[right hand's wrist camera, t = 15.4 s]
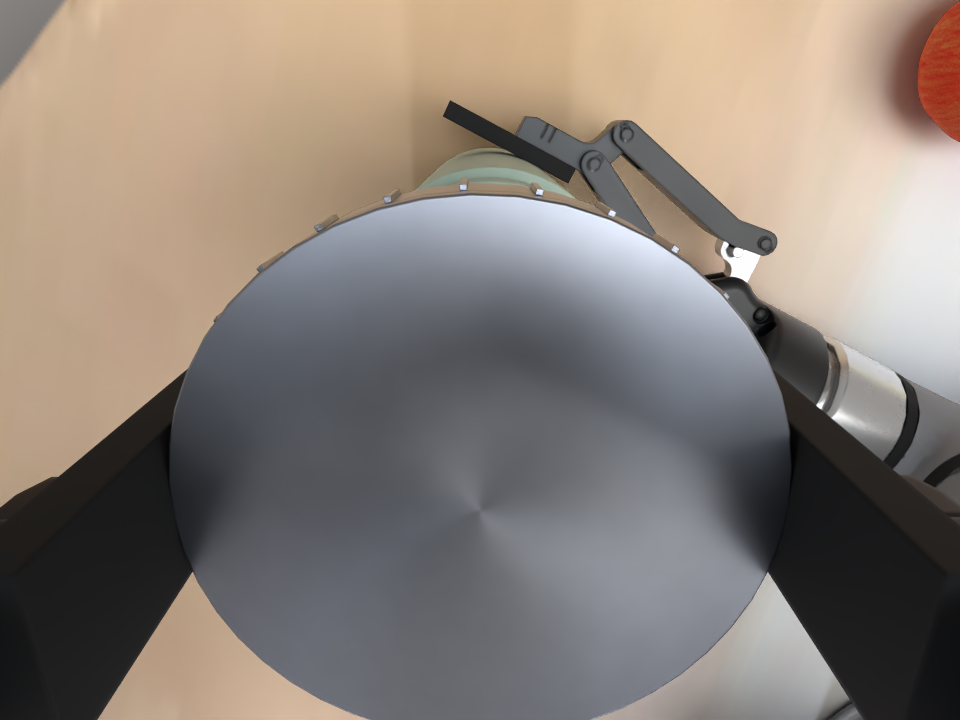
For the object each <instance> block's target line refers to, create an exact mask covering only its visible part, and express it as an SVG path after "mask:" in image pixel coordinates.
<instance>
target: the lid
mask: <svg viewBox="0 0 960 720" xmlns="http://www.w3.org/2000/svg"><path fill="white" fill-rule="evenodd" d="M615 215H616V211H614V210H613V209H611V208H610V207H608V206H606V205H605V204H603V203H601V202H599V201H597V202H596V204H595V206H594V205H592V204H589V203H586V202H583V201H580V200H577V199H574V198H571V197H568V196H565V195H562V194H558V193H555V192H551V191H545V190H544V189H543V188H542V187H541V186H540V185H539V184H538V183H534V182H531V184H530V188H529V187H523V186H517V185H507V184H482V183H468V178H462V179H461V181H460V184H457V185H446V186H436V187H429V188H424V189H420V190H416V191H412V192H407V193H403V194H401V193H400V190H399V189H396V190H393V191H392V192H390V193H389V194H388V195H386V196H385V197H384V198H383V200H380V201H378V202H375V203H372V204H370V205H367V206H365V207H362V208H359V209H357V210H354V211H352V212H350V213H349V214H347V215H345V216H343V217H341V218H338V216H337V215H336V214H334V215H333V216H331V217H329V218H328V219H326V220H324V221H323V222H321V223H319V224H318V225H316V226H315V227H314V228H315V229H316V232H315V233H313V234H312V235H310V236H309V237H307V238H306V239H304V240H303V241H301V242H300V243H298V244H297V245H295V246H293V247H292V248H291V249H289V250H288V251H287V252H285V253H284V252H281V253H279V254H277V255H276V256H274V257H273V258H271V259H270V260H268V261H266V262H265V263H263V264H262V265H260V266H259V267H258V268H257V270H258V271H259V273H258V274H257V275H256V276H255V277H254V278H253V279H252V280H251V281H250V282H249V283H248V284H247V285H246V286H245V287H244V288H243V289H242V290H241V291H240V292H239V293H238V294H237V295H236V296H235V297H234V298H233V299H232V300H231V301H230V303H229V304H228V305H227V306H226V308H225V309H224V310H223V312H222V313H220V314H219V315H218V316H216V318H215V319H214V322H215V323H214V324H213V326H212V327H211V328H210V330H209V331H208V333H207V334H206V335H205V337H204V339H203V341H202V343H201V345H200V346H199V348H198V350H197V352H196V354H195V356H194V358H193V360H192V362H191V364H190V366H189V368H188V370H187V372H186V375H185V378H184V381H183V384H182V387H181V390H180V393H179V396H178V399H177V403H176V406H175V409H174V415H173V421H172V427H171V434H170V440H169V456H168V483H169V489H170V495H171V501H172V506H173V512H174V517H175V522H176V527H177V531H178V534H179V538H180V541H181V544H182V548H183V551H184V553H185V555H186V558H187V560H188V562H189V564H190V566H191V568H192V571H193V573H194V575H195V577H196V579H197V582H198V583H199V585H200V586H201V588H202V590H203V591H204V593H205V594H206V596H207V598H208V599H209V601H210V602H211V604H212V605H213V607H214V609H215V610H216V612H217V613H218V614H219V615H220V617H221V618H222V619H223V620H224V621H225V623H226V624H227V625H228V626H229V627H230V629H231V630H232V631H233V632H234V633H235V635H236V636H237V637H238V638H239V639H240V640H241V641H242V642H243V643H244V644H245V645H246V646H247V647H248V648H249V649H250V650H252V651H253V652H254V653H255V654H256V655H257V656H258V657H259V658H260V659H261V660H262V661H263V662H265V663H266V664H267V665H269V666H270V667H271V668H273V669H274V670H275V671H277V672H278V673H279V674H281V675H282V676H283V677H285V678H286V679H287V680H289V681H290V682H291V683H293V684H295V685H296V686H298V687H300V688H302V689H303V690H305V691H307V692H308V693H310V694H312V695H313V696H315V697H317V698H319V699H320V700H322V701H325V702H327V703H329V704H331V705H333V706H336V707H338V708H340V709H342V710H344V711H347V712H349V713H351V714H354V715H357V716H360V717H363V718H366V719H369V720H592V719H595V718H598V717H600V716H603V715H605V714H608V713H611V712H613V711H616V710H619V709H621V708H623V707H625V706H627V705H629V704H631V703H633V702H635V701H637V700H639V699H641V698H643V697H645V696H647V695H649V694H651V693H653V692H654V691H656V690H657V689H659V688H660V687H662V686H664V685H665V684H667V683H668V682H670V681H671V680H673V679H674V678H676V677H677V676H679V675H680V674H682V673H683V672H684V671H685V670H687V669H688V668H689V667H690V666H692V665H693V664H694V663H695V662H696V661H698V660H699V659H700V658H701V657H702V656H704V655H705V654H706V653H707V652H708V651H709V650H710V649H711V648H712V647H713V646H714V645H715V644H716V643H717V642H718V641H719V640H720V639H721V638H722V637H723V636H724V635H725V634H726V633H727V632H728V630H729V629H730V628H731V627H732V626H733V625H734V623H735V622H736V621H737V619H738V618H739V617H740V615H741V614H742V613H743V611H744V610H745V609H746V607H747V606H748V605H749V603H750V602H751V601H752V599H753V597H754V595H755V594H756V592H757V590H758V588H759V586H760V585H761V583H762V581H763V579H764V578H765V576H766V574H767V572H768V570H769V568H770V565H771V563H772V560H773V558H774V555H775V553H776V550H777V548H778V545H779V543H780V540H781V537H782V533H783V529H784V524H785V519H786V514H787V509H788V504H789V498H790V492H791V480H792V469H793V468H792V453H791V438H790V428H789V424H788V419H787V415H786V411H785V406H784V402H783V397H782V393H781V391H780V388H779V386H778V383H777V381H776V378H775V376H774V373H773V371H772V368H771V366H770V363H769V360H768V358H767V356H766V355H765V353H764V351H763V349H762V347H761V346H760V344H759V343H758V341H757V339H756V338H755V336H754V334H753V333H752V331H751V329H750V327H749V326H748V324H747V323H746V321H745V320H744V319H743V318H742V317H741V315H740V314H739V313H738V312H737V310H736V309H735V308H734V307H733V306H732V304H731V303H730V302H729V301H728V298H729V296H728V294H727V293H726V292H724V291H723V290H722V289H720V288H719V287H717V286H716V285H714V284H713V283H711V282H710V281H709V280H708V279H707V278H706V277H705V276H704V275H702V274H701V273H700V272H699V271H698V270H697V269H696V268H695V267H694V266H693V265H691V264H690V263H689V262H688V261H686V260H685V259H683V258H682V257H680V256H679V255H677V254H676V253H677V252H678V251H679V248H678V247H677V246H675V245H674V244H672V243H671V242H669V241H667V240H666V239H664V238H662V237H661V236H659V235H658V234H656V233H655V234H654V236H653V237H651V236H649V235H648V234H646V233H644V232H643V231H641V230H640V229H638V228H637V227H635V226H634V225H632V224H631V223H629V222H627V221H625V220H623V219H621V218H619V217H617V216H615Z"/></svg>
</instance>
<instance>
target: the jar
mask: <svg viewBox="0 0 960 720" xmlns="http://www.w3.org/2000/svg"><path fill="white" fill-rule="evenodd" d="M462 178H468V183H482V184H507V185H517V186H523V187H529V188H530V184H531V182H534V183H538V184H539V185H540V186H541V187H542V188H543V189H544V190H545V191H551V192H555V193H558V194H562V195H565V196H568V197H571V198H574V199H576V198H575V197H574V196H572V195H571V194H570V193H569V192H568V191H567V190H565V189H564V188H563V187H562V186H561V185H560V184H558V183H557V182H556V181H555V180H554V179H552V178H551V177H550V176H549V175H548V174H547V173H545V172H544V171H543V170H542V169H540V168H539V167H537V166H535V165H533V164H531V163H529V162H527V161H525V160H524V159H522V158H520V157H518V156H516V155H514V154H512V153H511V152H509V151H507V150H505V149H501V148H489V147H488V148H477V149H473V150H468V151H465V152H463V153H460V154H458V155H456V156H454V157H452V158H450V159H449V160H447V161H446V162H445V163H443V164H442V165H441V166H440V167H439V168H438V169H437V170H436V171H434V172H433V173H432V174H431V175H430V176H429V177H428V178H427V179H426V180H425V181H424V182H423V183H422V184H421V185H420V186H419V187H417V188H416V189H415V190H414V191H416V190H420V189H424V188H429V187H436V186H446V185H457V184H460V181H461V179H462Z"/></svg>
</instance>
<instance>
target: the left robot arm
mask: <svg viewBox="0 0 960 720" xmlns="http://www.w3.org/2000/svg"><path fill="white" fill-rule="evenodd" d="M443 117H445V118H447V119H449V120H451V121H453V122H454V123H456V124H458V125H460V126H462V127H464V128H466V129H468V130H469V131H471V132H473V133H475V134H477V135H479V136H481V137H483V138H484V139H486V140H488V141H490V142H492V143H494V144H496V145H497V146H499V147H501V148H503V149H505V150H507V151H509V152H511V153H512V154H514V155H516V156H518V157H520V158H522V159H524V160H525V161H527V162H529V163H531V164H533V165H535V166H537V167H539V168H540V169H542V170H544V171H546V172H548V173H550V174H552V175H553V176H555V177H557V178H559V179H561V180H563V181H565V182H567V183H569V181H570V179H571V177H572V175H573V173H574V171H575V170H578V171H579V173H580V174H581V176H582V177H583V179H584V180H585V182H586V183H587V185H588V186H589V188H590V189H591V191H592V192H593V194H594V195H595V196H596V198H597V199H598V201H599V202H601V203H603V204H605V205H606V206H608V207H610V208H611V209H613V210H614V211H616V215H615V216H617V217H619V218H621V219H623V220H625V221H627V222H629V223H631V224H632V225H634V226H635V227H637V228H638V229H640V230H641V231H643V232H644V233H646V234H648V235H649V236H651V237H653V236H654V234H655V231H654V230H653V228H652V227H651V225H650V224H649V222H648V220H647V219H646V217H645V216H644V214H643V213H642V211H641V210H640V208H639V207H638V205H637V204H636V202H635V201H634V199H633V198H632V196H631V195H630V193H629V192H628V190H627V189H626V187H625V186H624V184H623V182H622V181H621V179H620V178H619V176H618V175H617V173H616V172H615V170H614V169H613V167H612V166H611V163H612V162H613V161H614V160H615V159H616V158H618V157H619V156H620V155H621V156H623V157H624V158H625V159H626V160H627V161H628V162H629V163H630V164H631V165H632V166H634V167H635V168H636V169H637V170H638V171H639V172H640V173H641V174H642V175H643V176H645V177H646V178H647V179H648V180H649V181H650V182H651V183H652V184H653V185H654V186H656V187H657V188H658V189H659V190H660V191H661V192H662V193H663V194H664V195H665V196H666V197H668V198H669V199H670V200H671V201H672V202H673V203H674V204H675V205H676V206H677V207H679V208H680V209H681V210H682V211H683V212H684V213H685V214H686V215H687V216H688V217H690V218H691V219H692V220H693V221H694V222H695V223H696V224H697V225H698V226H700V227H701V228H702V229H703V230H705V231H706V232H708V233H709V234H711V235H713V236H715V237H717V238H718V239H717V241H716V244H715V251H716V253H717V255H719V256H720V257H721V258H723V260H724V261H725V270H724V272H721V273H715V274H708V275H704V276H705V277H706V278H707V279H708V280H709V281H710V282H711V283H713V284H714V285H716V286H717V287H719V288H720V289H722V290H723V291H724V292H726V293H727V294H728V296H729V298H728V301H729V302H730V303H731V304H732V306H733V307H734V308H735V309H736V310H737V312H738V313H739V314H740V315H741V317H742V318H743V319H744V320H745V321H746V323H747V324H748V326H749V327H750V329H751V331H752V333H753V334H754V336H755V338H756V339H757V341H758V343H759V344H760V346H761V347H762V349H763V351H764V353H765V355H766V356H767V358H768V360H769V363H770V366H771V368H772V369H773V370H775V371H776V372H777V373H778V374H779V375H781V376H782V377H783V378H784V379H785V380H787V381H788V382H789V383H790V384H791V385H793V386H794V387H795V388H796V389H797V390H799V391H800V392H801V393H802V394H803V395H804V396H806V397H807V398H808V399H809V400H810V401H812V402H813V403H814V404H815V405H816V406H818V407H819V408H820V409H821V410H822V411H824V412H825V413H826V414H827V415H828V416H830V417H831V418H832V419H833V420H834V421H836V422H837V423H838V424H839V425H840V426H842V427H843V428H844V429H845V430H846V431H848V432H849V433H850V434H851V435H852V436H854V437H855V438H856V439H857V440H858V441H860V442H861V443H862V444H863V445H864V446H866V447H867V448H868V449H869V450H870V451H872V452H873V453H874V454H875V455H876V456H877V457H879V458H880V459H881V460H882V461H883V462H885V463H886V464H887V465H888V466H889V467H891V468H892V469H893V470H894V471H895V472H897V473H898V474H899V475H911V476H913V477H915V478H917V479H919V480H921V481H923V482H925V483H927V484H929V485H931V486H933V487H935V488H937V489H939V490H941V491H943V492H945V493H946V494H947V495H949V496H950V497H951V498H952V499H954V500H955V501H956V502H957V503H959V504H960V406H959V405H957V404H956V403H954V402H952V401H949V400H947V399H945V398H943V397H941V396H939V395H937V394H935V393H933V392H931V391H929V390H927V389H925V388H923V387H921V386H919V385H917V384H915V383H913V382H911V381H909V380H907V379H905V378H904V377H902V376H901V375H899V374H898V373H896V372H894V371H893V370H891V369H890V368H888V367H886V366H884V365H882V364H880V363H878V362H876V361H875V360H873V359H871V358H869V357H867V356H865V355H863V354H862V353H860V352H858V351H856V350H854V349H852V348H850V347H848V346H847V345H845V344H843V343H841V342H839V341H837V340H835V339H833V338H830V337H828V336H822V335H821V333H820V332H819V331H817V330H816V329H814V328H813V327H811V326H809V325H807V324H805V323H803V322H801V321H799V320H798V319H796V318H794V317H792V316H790V315H788V314H786V313H784V312H782V311H781V310H779V309H777V308H775V307H773V306H771V305H769V304H767V303H766V302H764V301H762V300H760V299H758V298H757V297H756V295H755V294H754V293H753V291H752V289H751V287H750V285H749V284H748V283H747V282H748V280H749V278H750V276H751V274H752V272H753V270H754V268H755V266H756V264H757V262H758V260H759V258H760V256H765V255H769V254H770V253H772V252H773V251H774V249H775V248H776V246H777V237H776V236H775V234H773V233H772V232H770V231H768V230H765V229H762V228H760V227H757V226H755V225H752V224H749V223H747V222H744V221H741V220H739V219H738V218H737V217H736V216H735V215H733V214H732V213H731V212H730V211H729V210H728V209H727V208H726V207H725V206H724V205H723V204H722V203H721V202H719V201H718V200H717V199H716V198H715V197H714V196H713V195H712V194H711V193H710V192H709V191H708V190H707V189H706V188H704V187H703V186H702V185H701V184H700V183H699V182H698V181H697V180H696V179H695V178H694V177H693V176H692V175H690V174H689V173H688V172H687V171H686V170H685V169H684V168H683V167H682V166H681V165H680V164H679V163H678V162H677V161H675V160H674V159H673V158H672V157H671V156H670V155H669V154H668V153H667V152H666V151H665V150H664V149H663V148H661V147H660V146H659V145H658V144H657V143H656V142H655V141H654V140H653V139H652V138H651V137H650V136H649V135H648V134H646V133H645V132H644V131H643V130H642V129H641V128H640V127H639V126H638V125H637V124H636V123H634V122H632V121H628V120H616V121H613V122H611V123H610V124H608V125H607V127H606V129H605V130H604V131H603V132H602V133H600V134H599V135H598V136H597V137H596V138H595V139H594V140H592V141H590V142H585V143H584V142H581V141H579V140H577V139H576V138H574V137H572V136H570V135H568V134H566V133H565V132H563V131H561V130H559V129H557V128H555V127H554V126H552V125H550V124H548V123H546V122H545V121H543V120H541V119H539V118H537V117H527V116H525V117H524V118H523V120H522V122H521V124H520V126H519V128H518V130H517V132H516V134H515V135H513V134H511V133H510V132H508V131H506V130H504V129H502V128H500V127H498V126H497V125H495V124H493V123H491V122H489V121H487V120H486V119H484V118H482V117H480V116H478V115H476V114H474V113H473V112H471V111H469V110H467V109H465V108H463V107H462V106H460V105H458V104H456V103H454V102H452V101H450V102H449V104H448V106H447V108H446V111H445V113H444V115H443ZM829 720H863V719H862V717H861V716H860V714H859V713H858V711H857V709H856V708H855V706H854V705H853V703H852V704H850V705H848V706H846V707H845V708H843V709H842V710H840V711H839V712H837V713H836V714H835V715H833V716H832V717H831V718H830V719H829Z"/></svg>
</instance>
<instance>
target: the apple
mask: <svg viewBox="0 0 960 720" xmlns="http://www.w3.org/2000/svg"><path fill="white" fill-rule="evenodd" d="M918 93H919V98H920V101H921V104H922V106H923V108H924V109H925V111H926V113H927V114H928V115H929V116H930V117H931V119H932V120H933V121H934V122H935V123H936V124H937V125H938V126H939V127H940V128H941V129H942V130H943V131H944V132H945V133H946V134H947V135H949V136H950V137H951V138H953V139H955V140H956V141H958V142H960V0H959V1H958V2H957V3H956V4H955V5H954V6H952V7H951V8H950V9H949V10H948V11H947V12H946V13H945V14H944V15H943V16H942V17H941V19H940V20H939V21H938V23H937V24H936V25H935V27H934V29H933V30H932V32H931V34H930V36H929V38H928V40H927V42H926V44H925V46H924V49H923V51H922V54H921V57H920V61H919V69H918Z"/></svg>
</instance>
